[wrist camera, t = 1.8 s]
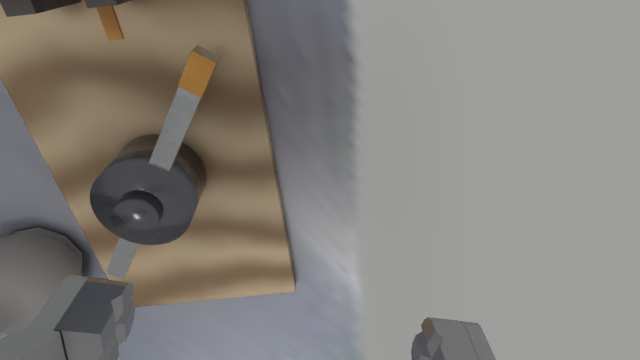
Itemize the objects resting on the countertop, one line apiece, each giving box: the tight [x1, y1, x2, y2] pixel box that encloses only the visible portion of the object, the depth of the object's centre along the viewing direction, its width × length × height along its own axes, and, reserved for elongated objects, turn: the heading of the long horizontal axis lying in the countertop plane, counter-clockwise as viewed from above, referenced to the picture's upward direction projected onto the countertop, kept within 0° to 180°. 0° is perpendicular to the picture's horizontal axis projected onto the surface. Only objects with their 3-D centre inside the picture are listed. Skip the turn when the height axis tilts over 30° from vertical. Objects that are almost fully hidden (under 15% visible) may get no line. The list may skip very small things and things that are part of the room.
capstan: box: [90, 45, 220, 279], centre depth 28 cm, size 20×7×6 cm, turn 150°
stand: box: [0, 0, 296, 307], centre depth 30 cm, size 31×18×6 cm, turn 5°
